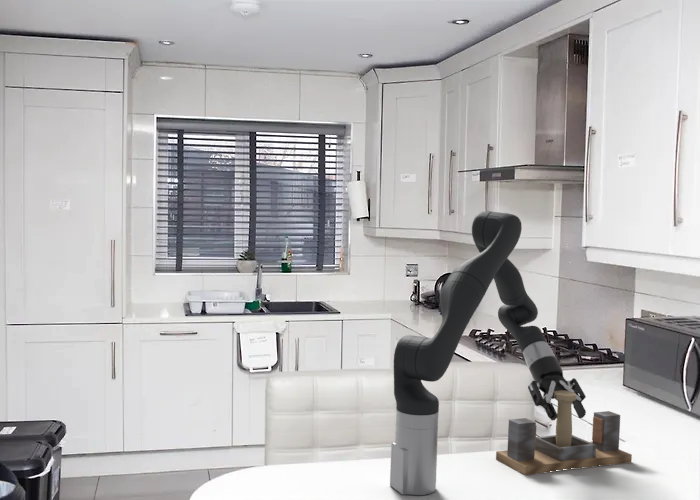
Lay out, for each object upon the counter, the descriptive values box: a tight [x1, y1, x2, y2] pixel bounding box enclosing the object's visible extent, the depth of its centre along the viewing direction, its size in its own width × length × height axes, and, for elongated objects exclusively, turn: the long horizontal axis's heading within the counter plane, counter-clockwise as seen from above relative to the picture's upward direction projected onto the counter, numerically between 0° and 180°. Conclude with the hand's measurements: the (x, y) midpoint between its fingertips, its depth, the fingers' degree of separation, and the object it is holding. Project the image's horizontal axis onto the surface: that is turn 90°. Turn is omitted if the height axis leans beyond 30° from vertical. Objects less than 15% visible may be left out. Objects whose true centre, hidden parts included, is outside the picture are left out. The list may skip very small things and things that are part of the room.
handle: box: [554, 390, 576, 447], centre depth 184 cm, size 5×6×15 cm
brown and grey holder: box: [495, 410, 633, 476], centre depth 184 cm, size 32×12×11 cm, turn 112°
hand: (569, 417), depth 183 cm, fingers open, 8 cm apart
